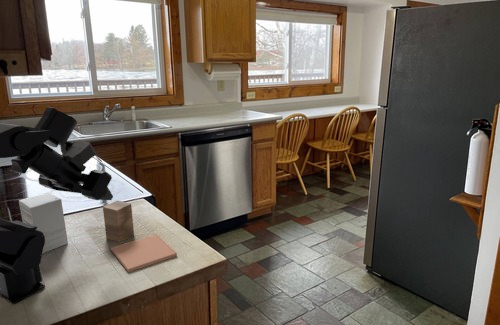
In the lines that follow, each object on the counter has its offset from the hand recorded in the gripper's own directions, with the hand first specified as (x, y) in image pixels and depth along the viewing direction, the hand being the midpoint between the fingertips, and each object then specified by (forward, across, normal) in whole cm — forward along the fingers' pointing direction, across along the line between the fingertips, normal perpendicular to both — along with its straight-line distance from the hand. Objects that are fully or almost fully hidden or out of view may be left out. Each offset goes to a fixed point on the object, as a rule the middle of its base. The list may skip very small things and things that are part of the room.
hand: (98, 194), depth 91 cm
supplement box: (+5, +13, +15) cm, 20 cm away
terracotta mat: (+11, -12, +9) cm, 18 cm away
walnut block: (+14, 0, +6) cm, 15 cm away
